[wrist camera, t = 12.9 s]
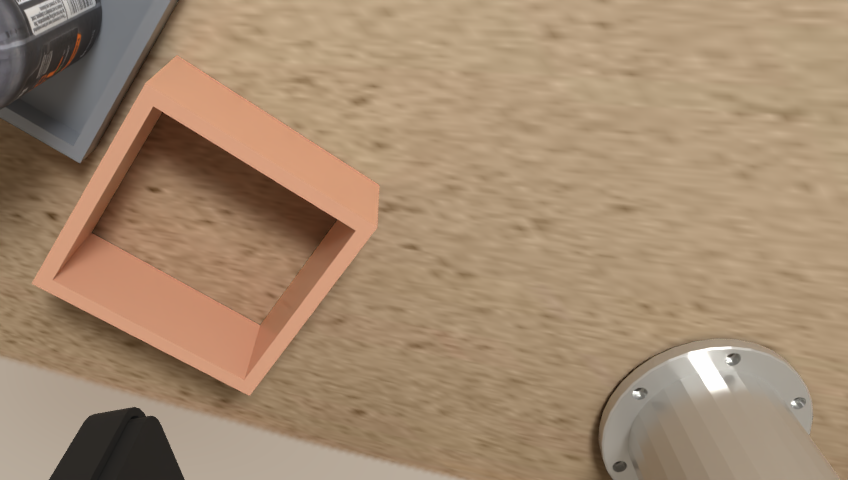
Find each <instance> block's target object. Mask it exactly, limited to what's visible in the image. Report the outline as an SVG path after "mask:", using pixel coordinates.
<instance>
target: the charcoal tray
mask: <svg viewBox="0 0 848 480" xmlns="http://www.w3.org/2000/svg"><path fill="white" fill-rule="evenodd" d="M177 2H178V0H101V6H102V21H101V27H100V32H99V33H98V35H97V38H96V40H95V42H94V44H93V46H92V48H91V49H90V50H89V52H88V53H87V54H86V55H85V56H84V57H82V58H81V59H80V60H78V61H77V62H75V63H74V64H72V65H71V66H69V67H67V68H65V69H64V70H62V71H61V72H59V73H57V74H56V75H55V76H53V77H52V78H50V79H48V80H46V81H45V82H44V83H42V84H40V85H38V86H37V87H35V88H34V89H32V90H31V91H29V92H28V93H26V94H24V95H23V96H22V97H20V98H18V99H17V100H15V101H14V102H12V103H11V104H9V105H8V106H6V107H4V108H2V109H1V110H0V118H2V119H3V120H5V121H7V122H9V123H10V124H12V125H14V126H16V127H17V128H19V129H21V130H23V131H24V132H26V133H28V134H30V135H31V136H33V137H35V138H36V139H38V140H40V141H42V142H43V143H45V144H47V145H49V146H50V147H52V148H54V149H56V150H57V151H59V152H61V153H63V154H64V155H66V156H68V157H70V158H71V159H73V160H75V161H77V162H78V163H81V162H82V161H83V160H84V159H85V158H86V157H87V156H88V155H89V154H91V153H92V152H93V151H94V150H95V148H96V147H97V145H98V143H99V141H100V140H101V138H102V136H103V134H104V132H105V131H106V129H107V127H108V125H109V123H110V122H111V120H112V118H113V116H114V115H115V113H116V111H117V109H118V107H119V106H120V104H121V102H122V100H123V98H124V97H125V95H126V93H127V91H128V90H129V88H130V86H131V84H132V82H133V81H134V79H135V77H136V75H137V74H138V72H139V70H140V68H141V66H142V65H143V63H144V61H145V59H146V57H147V56H148V54H149V52H150V50H151V49H152V47H153V45H154V43H155V41H156V40H157V38H158V36H159V34H160V33H161V31H162V29H163V27H164V25H165V24H166V22H167V20H168V18H169V16H170V15H171V13H172V11H173V9H174V8H175V6H176V4H177Z"/></svg>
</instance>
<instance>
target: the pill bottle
mask: <svg viewBox="0 0 848 480" xmlns="http://www.w3.org/2000/svg"><path fill="white" fill-rule="evenodd" d="M101 21H102V6H101V0H0V110H1V109H2V108H4V107H6V106H8V105H9V104H11V103H12V102H14V101H15V100H17V99H18V98H20V97H22V96H23V95H24V94H26V93H28V92H29V91H31V90H32V89H34V88H35V87H37V86H38V85H40V84H42V83H44V82H45V81H46V80H48V79H50V78H52V77H53V76H55V75H56V74H57V73H59V72H61V71H62V70H64V69H65V68H67V67H69V66H71V65H72V64H74V63H75V62H77V61H78V60H80V59H81V58H82V57H84V56H85V55H86V54H87V53H88V52H89V50H90V49H91V48H92V46H93V44H94V42H95V40H96V38H97V35H98V33H99V32H100V27H101Z"/></svg>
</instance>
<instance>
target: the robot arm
mask: <svg viewBox="0 0 848 480" xmlns="http://www.w3.org/2000/svg"><path fill="white" fill-rule="evenodd" d="M812 420H813V407H812V400H811V397H810V394H809V391H808V388H807V386H806V384H805V383H804V381H803V380H802V379H801V377H800V376H799V374H798V373H797V372H796V370H795V369H794V368H793V367H792V366H791V365H790V364H789V363H788V361H787V360H786V359H784V358H783V357H781V356H780V355H778V354H777V353H776V352H774V351H773V350H771V349H768V348H766V347H764V346H761V345H759V344H756V343H753V342H748V341H743V340H738V339H709V340H701V341H694V342H691V343H687V344H684V345H680V346H677V347H674V348H671V349H669V350H667V351H665V352H663V353H661V354H658V355H656V356H654V357H653V358H651V359H650V360H648V361H647V362H645V363H644V364H642V365H641V366H639V367H638V368H636V369H635V370H634V371H633V372H632V373H631V374H630V375H629V376H628V377H626V378H625V379H624V380H623V381H622V382H621V384H620V385H619V386H618V388H617V389H616V390H615V391H614V393H613V394H612V395H611V397H610V399H609V401H608V403H607V405H606V407H605V409H604V411H603V414H602V418H601V422H600V426H599V446H600V450H601V455H602V458H603V461H604V464H605V466H606V469H607V471H608V473H609V475H610V476H611V478H612V479H613V480H841V479H840V477H839V476H838V475H837V473H836V472H835V470H834V469H833V468H832V466H831V465H830V464H829V462H828V461H827V459H826V458H825V457H824V455H823V454H822V453H821V451H820V450H819V448H818V447H817V446H816V444H815V443H814V442H813V440H812V439H811V437H810V436H809V435H810V432H811V426H812ZM49 480H184V477H183V475H182V473H181V470H180V468H179V466H178V463H177V461H176V459H175V456H174V454H173V452H172V449H171V447H170V445H169V442H168V440H167V438H166V435H165V433H164V431H163V428H162V426H161V424H160V422H159V420H158V419H157V418H156V417H154V416H147V417H146V416H145V414H144V412H142V411H141V410H140V409H139V408H136V407H133V408H126V409H121V410H115V411H110V412H105V413H98V414H94V415H91V416H89V417H88V418H87V419H86V420H85V422H84V423H83V425H82V426H81V428H80V430H79V431H78V433H77V434H76V436H75V438H74V439H73V441H72V443H71V444H70V446H69V448H68V449H67V451H66V453H65V454H64V456H63V458H62V459H61V461H60V463H59V464H58V466H57V468H56V469H55V471H54V473H53V474H52V476H51V477H50V479H49Z"/></svg>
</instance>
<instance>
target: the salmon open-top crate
mask: <svg viewBox="0 0 848 480" xmlns="http://www.w3.org/2000/svg"><path fill="white" fill-rule="evenodd" d="M162 112H164V113H165V114H167V115H168V116H170V117H172V118H173V119H175V120H177V121H178V122H180V123H181V124H183V125H185V126H186V127H188V128H190V129H191V130H193V131H194V132H196V133H198V134H199V135H201V136H203V137H204V138H206V139H207V140H209V141H211V142H212V143H214V144H216V145H217V146H219V147H221V148H222V149H224V150H225V151H227V152H229V153H230V154H232V155H234V156H235V157H237V158H238V159H240V160H242V161H243V162H245V163H247V164H248V165H250V166H251V167H253V168H255V169H256V170H258V171H260V172H261V173H263V174H264V175H266V176H268V177H269V178H271V179H273V180H274V181H276V182H277V183H279V184H281V185H282V186H284V187H286V188H287V189H289V190H290V191H292V192H294V193H295V194H297V195H299V196H300V197H302V198H304V199H305V200H307V201H308V202H310V203H312V204H313V205H315V206H317V207H318V208H320V209H321V210H323V211H325V212H326V213H328V214H330V215H331V216H333V217H334V218H336V219H337V221H336V222H335V223H334V225H333V226H332V228H331V229H330V230H329V232H328V233H327V234H326V236H325V237H324V239H323V240H322V241H321V243H320V244H319V245H318V247H317V248H316V249H315V251H314V252H313V254H312V255H311V256H310V258H309V259H308V260H307V262H306V263H305V265H304V266H303V267H302V269H301V270H300V271H299V273H298V274H297V275H296V277H295V278H294V280H293V281H292V282H291V284H290V285H289V286H288V288H287V289H286V291H285V292H284V293H283V295H282V296H281V297H280V299H279V300H278V301H277V303H276V304H275V306H274V307H273V308H272V310H271V311H270V312H269V314H268V315H267V317H266V318H265V319H264V321H263V322H262V323H261V325H259V324H257V323H255V322H253V321H251V320H250V319H248V318H246V317H244V316H242V315H240V314H239V313H237V312H235V311H233V310H231V309H230V308H228V307H226V306H224V305H222V304H220V303H219V302H217V301H215V300H213V299H211V298H209V297H208V296H206V295H204V294H202V293H200V292H199V291H197V290H195V289H193V288H191V287H189V286H188V285H186V284H184V283H182V282H180V281H178V280H177V279H175V278H173V277H171V276H169V275H168V274H166V273H164V272H162V271H160V270H158V269H157V268H155V267H153V266H151V265H149V264H147V263H146V262H144V261H142V260H140V259H138V258H137V257H135V256H133V255H131V254H129V253H127V252H126V251H124V250H122V249H120V248H118V247H116V246H115V245H113V244H111V243H109V242H107V241H106V240H104V239H102V238H100V237H98V236H96V235H95V234H93V233H92V231H93V229H94V227H95V226H96V224H97V222H98V221H99V219H100V217H101V215H102V214H103V212H104V210H105V209H106V207H107V205H108V204H109V202H110V200H111V198H112V197H113V195H114V193H115V192H116V190H117V188H118V187H119V185H120V183H121V181H122V180H123V178H124V176H125V175H126V173H127V171H128V169H129V168H130V166H131V164H132V163H133V161H134V159H135V158H136V156H137V154H138V152H139V151H140V149H141V147H142V146H143V144H144V142H145V141H146V139H147V137H148V135H149V134H150V132H151V130H152V129H153V127H154V125H155V123H156V122H157V120H158V118H159V117H160V115H161V113H162ZM378 203H379V185H378V184H377V183H375V182H374V181H372V180H371V179H369V178H367V177H366V176H364V175H363V174H361V173H360V172H358V171H357V170H355V169H353V168H352V167H350V166H349V165H347V164H346V163H344V162H342V161H341V160H339V159H338V158H336V157H335V156H333V155H332V154H330V153H328V152H327V151H325V150H324V149H322V148H321V147H319V146H318V145H316V144H314V143H313V142H311V141H310V140H308V139H307V138H305V137H304V136H302V135H300V134H299V133H297V132H296V131H294V130H293V129H291V128H290V127H288V126H286V125H285V124H283V123H282V122H280V121H279V120H277V119H275V118H274V117H272V116H271V115H269V114H268V113H266V112H265V111H263V110H261V109H260V108H258V107H257V106H255V105H254V104H252V103H251V102H249V101H247V100H246V99H244V98H243V97H241V96H240V95H238V94H237V93H235V92H233V91H232V90H230V89H229V88H227V87H226V86H224V85H223V84H221V83H219V82H218V81H216V80H215V79H213V78H212V77H210V76H208V75H207V74H205V73H204V72H202V71H201V70H199V69H198V68H196V67H194V66H193V65H191V64H190V63H188V62H187V61H185V60H184V59H182V58H180V57H179V56H176V57H174V58H173V59H172V60H171V61H170V62H169V63H168V64H167V65H165V66H164V67H163V68H162V69H161V70H160V71H159V72H157V73H156V74H155V75H154V76H153V77H152V78H151V79H149V80H148V81H147V82H146V83H145V85H144V87H143V88H142V90H141V92H140V94H139V95H138V97H137V99H136V101H135V102H134V104H133V106H132V108H131V110H130V111H129V113H128V115H127V117H126V118H125V120H124V122H123V124H122V125H121V127H120V129H119V131H118V132H117V134H116V136H115V138H114V139H113V141H112V143H111V145H110V146H109V148H108V150H107V152H106V154H105V155H104V157H103V159H102V161H101V162H100V164H99V166H98V168H97V169H96V171H95V173H94V175H93V176H92V178H91V180H90V182H89V183H88V185H87V187H86V189H85V190H84V192H83V194H82V196H81V198H80V199H79V201H78V203H77V205H76V206H75V208H74V210H73V212H72V213H71V215H70V217H69V219H68V220H67V222H66V224H65V226H64V227H63V229H62V231H61V233H60V234H59V236H58V238H57V240H56V242H55V243H54V245H53V247H52V249H51V250H50V252H49V254H48V256H47V257H46V259H45V261H44V263H43V264H42V266H41V268H40V270H39V271H38V273H37V275H36V277H35V278H34V280H33V282H32V284H33V285H35V286H37V287H39V288H41V289H43V290H45V291H47V292H49V293H51V294H53V295H55V296H57V297H59V298H61V299H63V300H64V301H66V302H68V303H70V304H72V305H74V306H76V307H78V308H80V309H82V310H84V311H86V312H88V313H90V314H92V315H94V316H95V317H97V318H99V319H101V320H103V321H105V322H107V323H109V324H111V325H113V326H115V327H117V328H119V329H121V330H123V331H125V332H127V333H128V334H130V335H132V336H134V337H136V338H138V339H140V340H142V341H144V342H146V343H148V344H150V345H152V346H154V347H156V348H158V349H159V350H161V351H163V352H165V353H167V354H169V355H171V356H173V357H175V358H177V359H179V360H181V361H183V362H185V363H187V364H189V365H190V366H192V367H194V368H196V369H198V370H200V371H202V372H204V373H206V374H208V375H210V376H212V377H214V378H216V379H218V380H220V381H222V382H223V383H225V384H227V385H229V386H231V387H233V388H235V389H237V390H239V391H241V392H243V393H245V394H247V395H249V396H250V395H251V393H252V392H253V391H254V389H255V388H256V387H257V385H258V384H259V383H260V381H261V380H262V379H263V377H264V376H265V375H266V373H267V372H268V371H269V370H270V368H271V367H272V366H273V364H274V363H275V362H276V360H277V359H278V358H279V356H280V355H281V354H282V352H283V351H284V350H285V348H286V347H287V346H288V344H289V343H290V342H291V340H292V339H293V338H294V337H295V335H296V334H297V333H298V331H299V330H300V329H301V327H302V326H303V325H304V323H305V322H306V321H307V319H308V318H309V317H310V315H311V314H312V313H313V311H314V310H315V309H316V308H317V306H318V305H319V304H320V302H321V301H322V300H323V298H324V297H325V296H326V294H327V293H328V292H329V290H330V289H331V288H332V286H333V285H334V284H335V282H336V281H337V280H338V278H339V277H340V276H341V275H342V273H343V272H344V271H345V269H346V268H347V267H348V265H349V264H350V263H351V261H352V260H353V259H354V257H355V256H356V255H357V253H358V252H359V251H360V249H361V248H362V247H363V245H364V244H365V243H366V242H367V240H368V239H369V238H370V236H371V235H372V234H373V232H374V231H375V230H376V228H377V225H378Z"/></svg>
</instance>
